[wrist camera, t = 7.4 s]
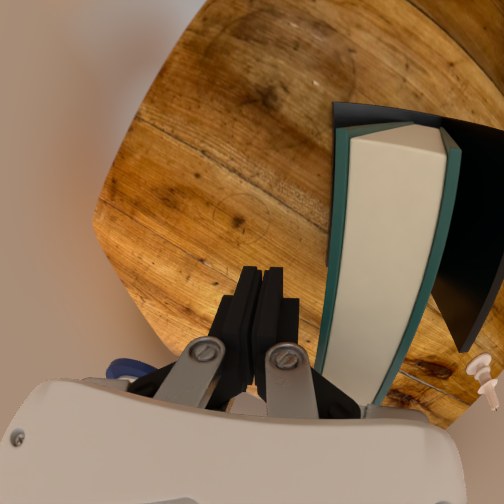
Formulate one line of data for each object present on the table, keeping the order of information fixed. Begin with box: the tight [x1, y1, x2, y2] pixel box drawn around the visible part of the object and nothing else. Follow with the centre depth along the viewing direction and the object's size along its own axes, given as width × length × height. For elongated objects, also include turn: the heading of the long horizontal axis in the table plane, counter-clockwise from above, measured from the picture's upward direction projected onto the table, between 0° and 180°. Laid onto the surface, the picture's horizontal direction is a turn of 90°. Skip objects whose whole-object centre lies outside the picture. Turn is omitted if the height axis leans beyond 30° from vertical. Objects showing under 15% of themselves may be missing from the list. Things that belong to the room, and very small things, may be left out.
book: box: [314, 121, 462, 406], centre depth 16 cm, size 20×14×3 cm
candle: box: [466, 353, 499, 410], centre depth 29 cm, size 5×5×10 cm
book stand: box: [325, 102, 504, 353], centre depth 19 cm, size 11×16×13 cm
